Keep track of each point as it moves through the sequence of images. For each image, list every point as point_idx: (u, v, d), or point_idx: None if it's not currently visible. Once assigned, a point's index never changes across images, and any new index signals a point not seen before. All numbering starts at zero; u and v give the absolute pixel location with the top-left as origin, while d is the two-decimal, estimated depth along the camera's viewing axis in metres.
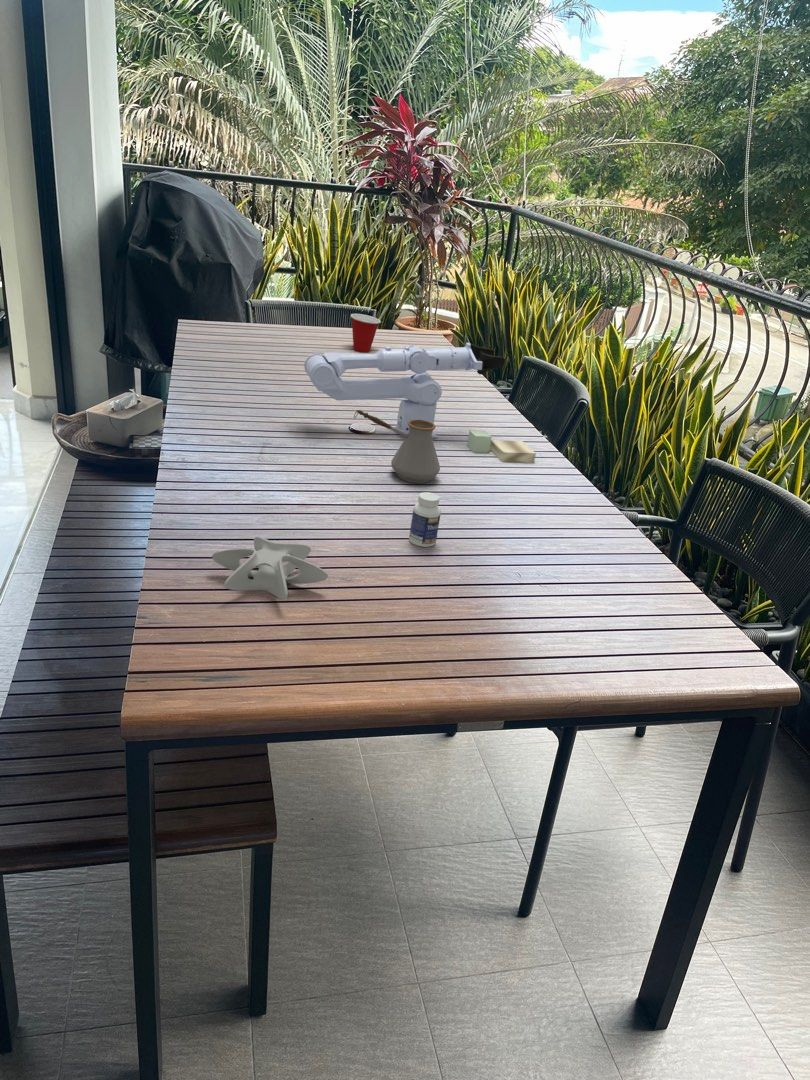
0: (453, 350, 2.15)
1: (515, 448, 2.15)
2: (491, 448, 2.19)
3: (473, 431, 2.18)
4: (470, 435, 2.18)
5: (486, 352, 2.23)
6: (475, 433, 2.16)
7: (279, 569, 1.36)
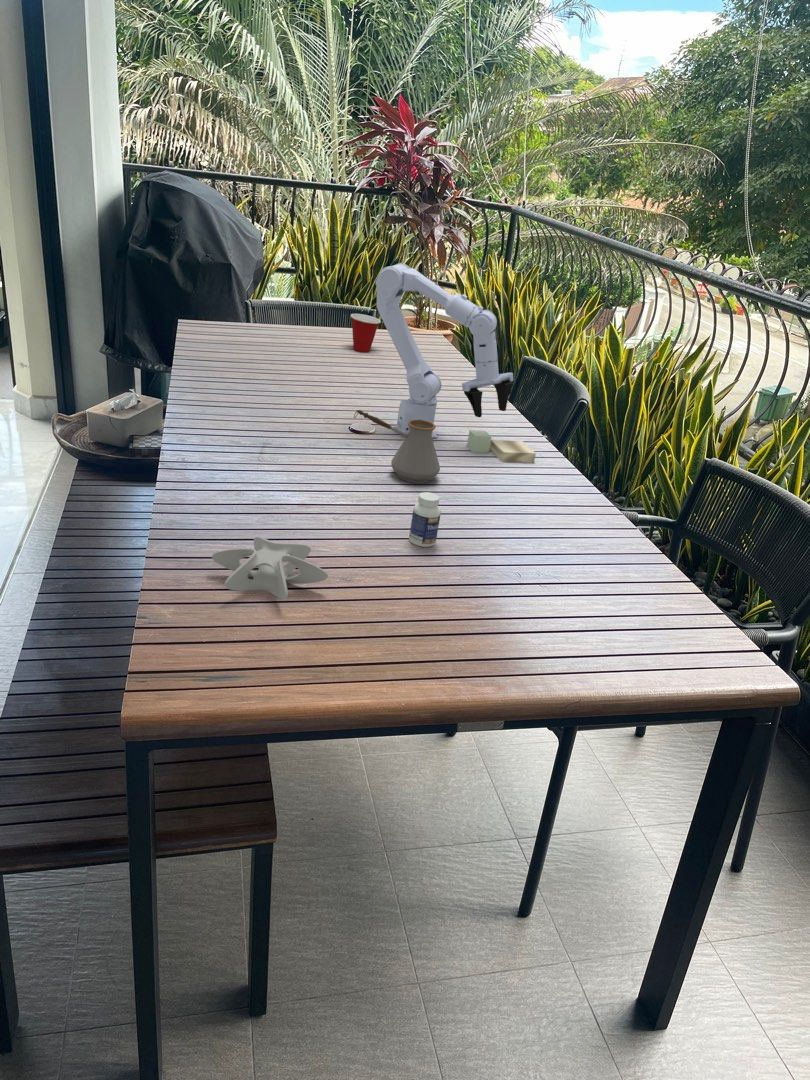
0: (487, 364, 2.09)
1: (515, 448, 2.15)
2: (491, 448, 2.19)
3: (473, 431, 2.18)
4: (470, 435, 2.18)
5: (502, 402, 2.16)
6: (475, 433, 2.16)
7: (279, 569, 1.36)
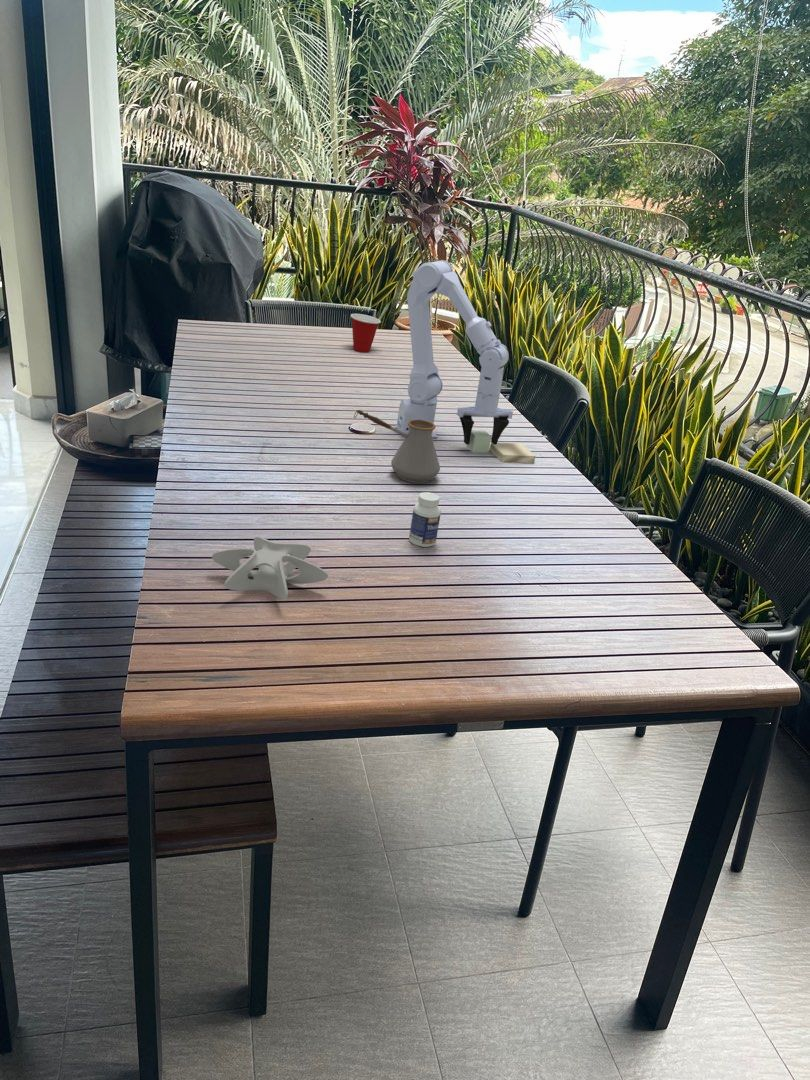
0: (487, 397, 2.10)
1: (515, 451, 2.15)
2: (491, 450, 2.19)
3: (473, 431, 2.18)
4: None
5: (494, 436, 2.18)
6: (475, 433, 2.16)
7: (279, 569, 1.36)
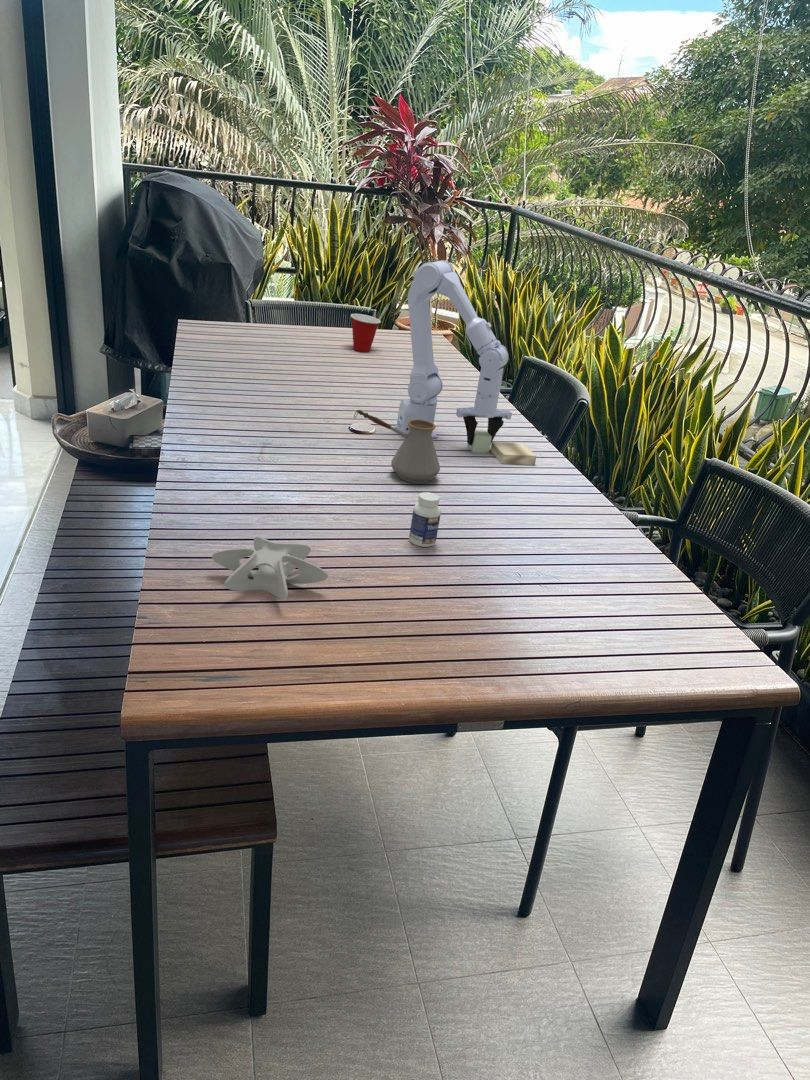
0: (486, 397, 2.10)
1: (516, 450, 2.14)
2: (492, 450, 2.18)
3: None
4: None
5: None
6: (475, 433, 2.16)
7: (279, 569, 1.36)
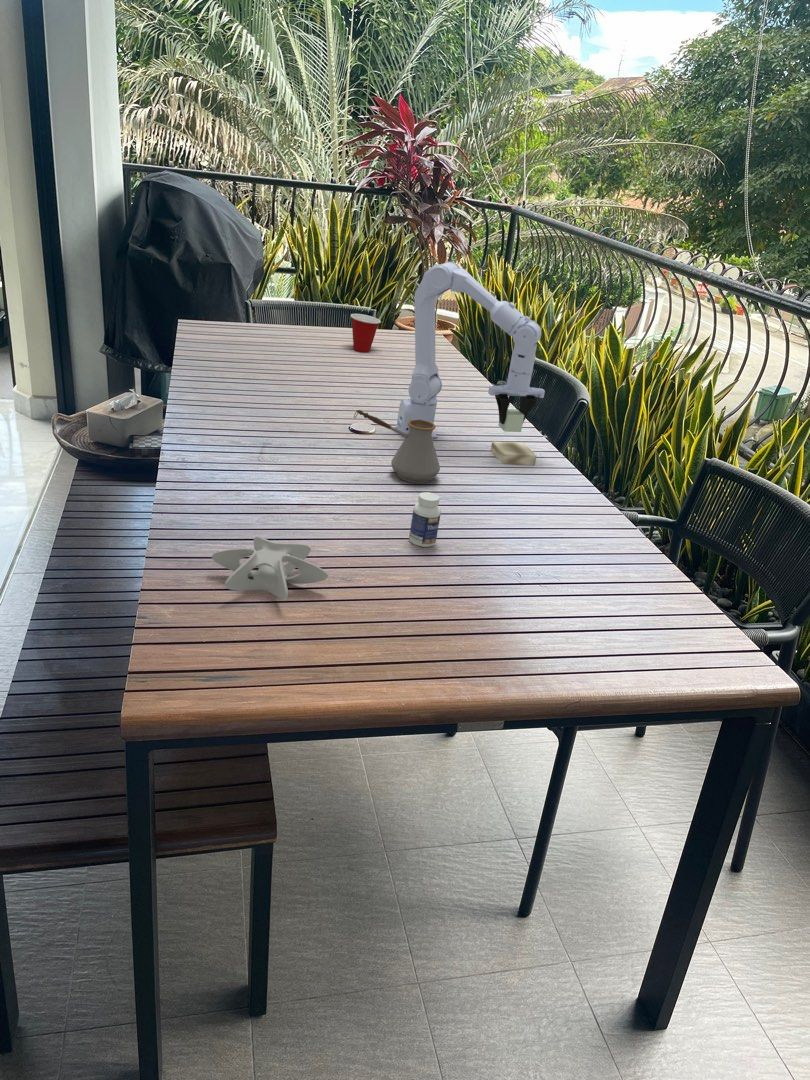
0: (519, 375, 2.06)
1: (516, 450, 2.14)
2: (492, 450, 2.18)
3: None
4: None
5: None
6: (507, 412, 2.12)
7: (279, 569, 1.36)
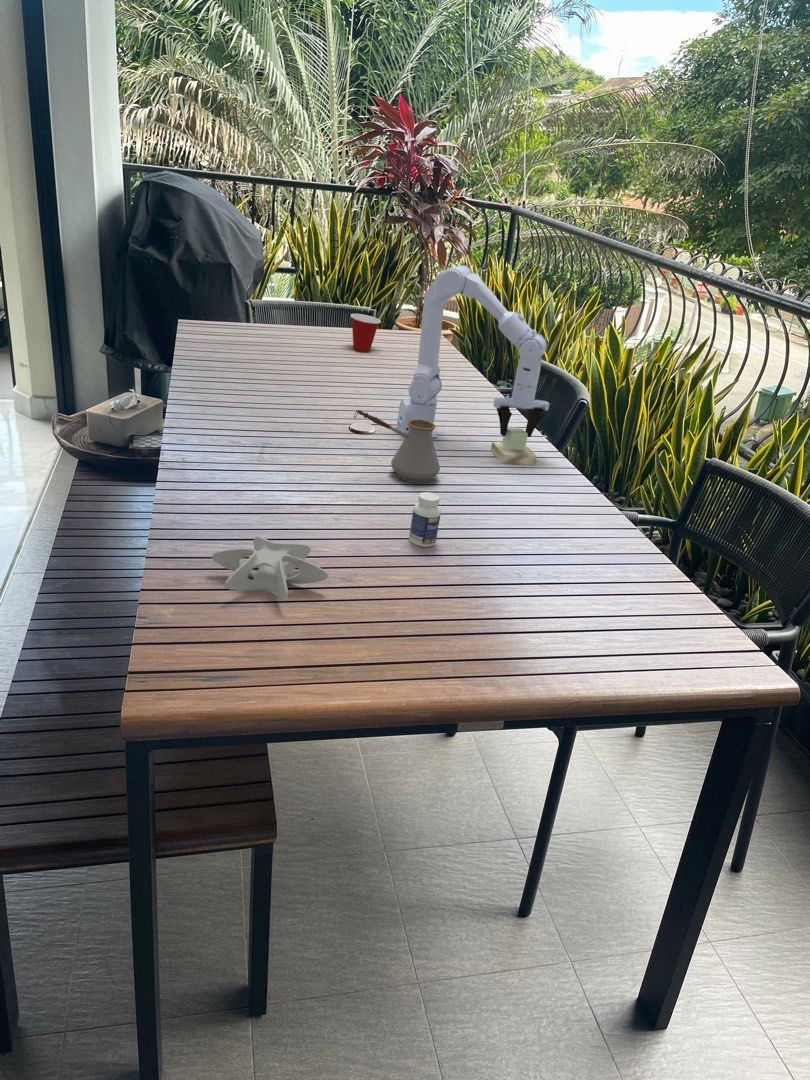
0: (524, 388, 2.07)
1: (516, 450, 2.14)
2: (492, 450, 2.18)
3: (509, 428, 2.15)
4: None
5: (529, 428, 2.15)
6: (511, 430, 2.14)
7: (279, 569, 1.36)
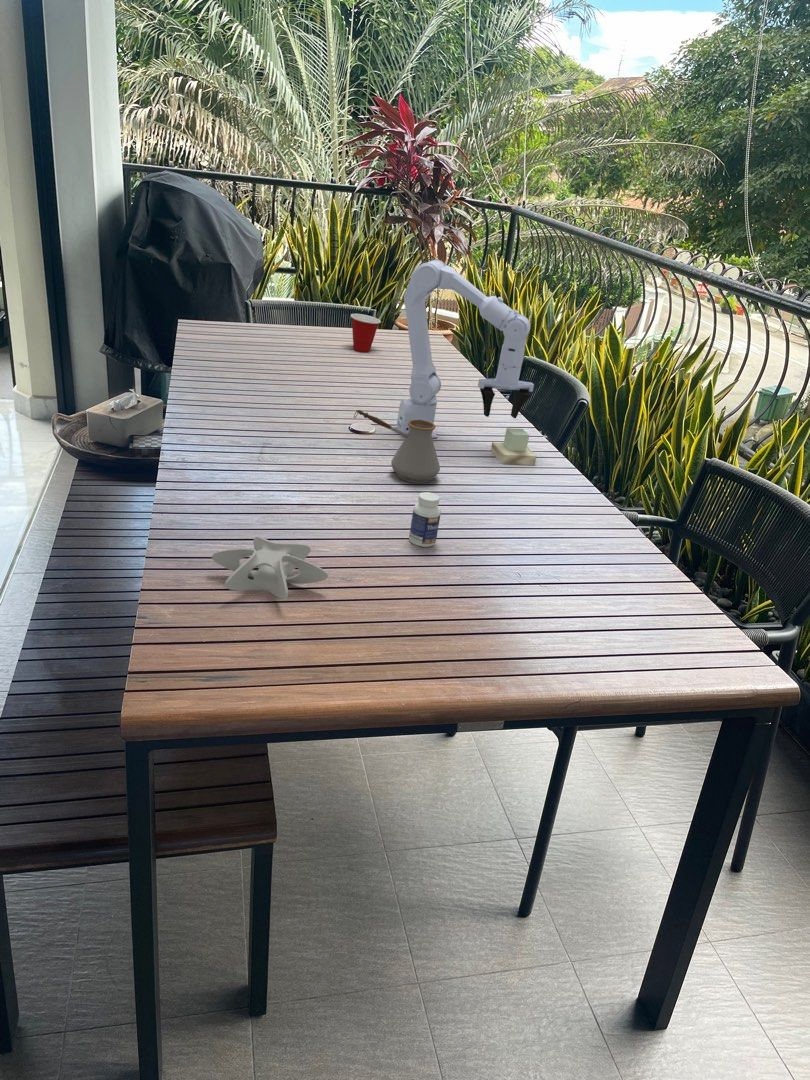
0: (508, 368, 2.08)
1: (516, 451, 2.14)
2: (492, 450, 2.18)
3: (510, 429, 2.15)
4: (507, 433, 2.15)
5: (514, 409, 2.16)
6: (513, 431, 2.13)
7: (279, 569, 1.36)
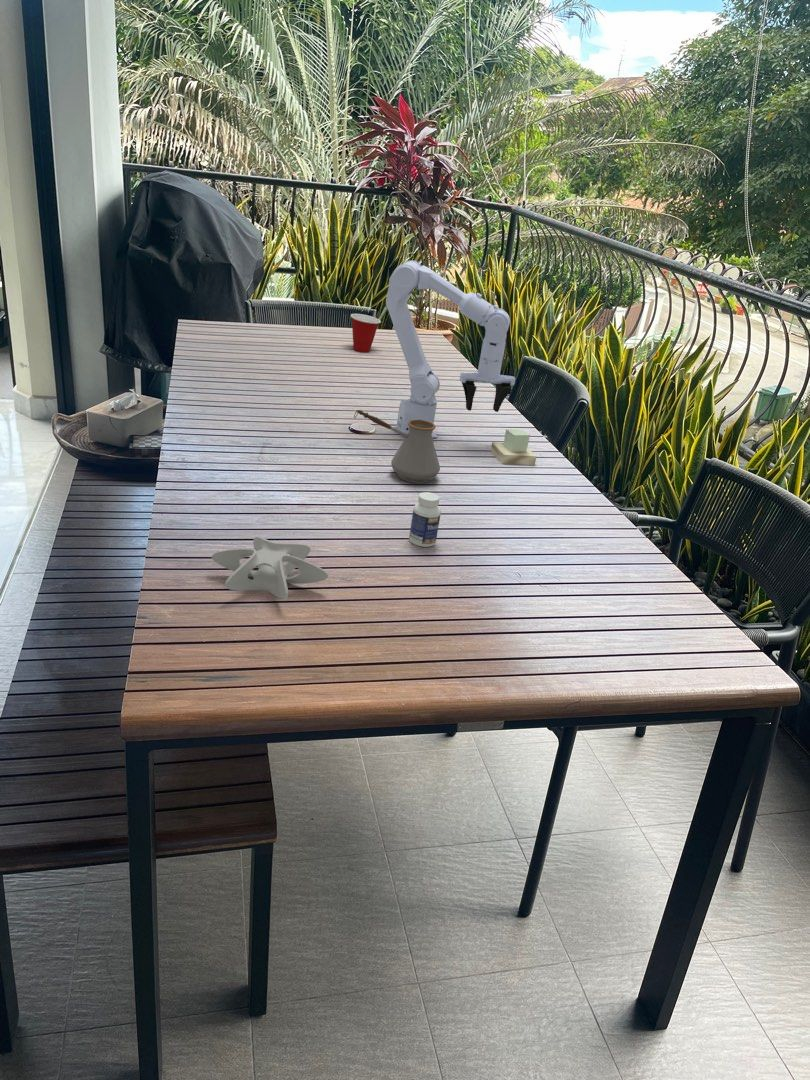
0: (489, 362, 2.10)
1: None
2: (492, 450, 2.18)
3: (510, 430, 2.14)
4: (507, 434, 2.14)
5: (496, 403, 2.18)
6: (513, 432, 2.13)
7: (279, 569, 1.36)
